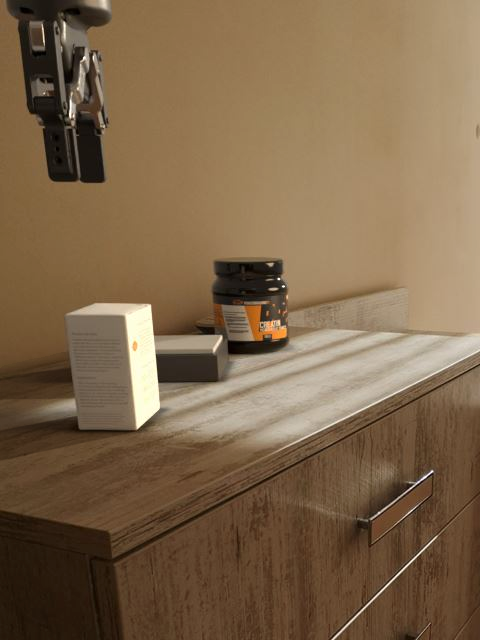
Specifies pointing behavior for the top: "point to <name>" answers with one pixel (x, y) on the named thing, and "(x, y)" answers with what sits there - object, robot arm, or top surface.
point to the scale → (190, 357)
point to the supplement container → (251, 304)
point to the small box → (113, 365)
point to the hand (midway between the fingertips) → (80, 182)
